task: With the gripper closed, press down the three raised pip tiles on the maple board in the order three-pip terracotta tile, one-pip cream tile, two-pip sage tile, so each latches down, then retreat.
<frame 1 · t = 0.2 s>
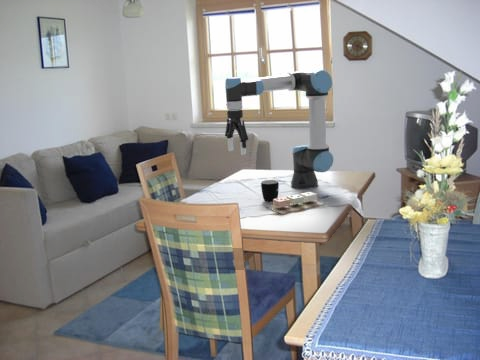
hand: (237, 152, 278), 28 cm above the table, fingers open, 13 cm apart
board: (295, 206, 279), on the table
tile 2: (295, 199, 278), point 4 cm above the table, slide at 0.0 cm
tile 3: (281, 202, 274), point 4 cm above the table, slide at 0.0 cm
tile 1: (308, 196, 281), point 4 cm above the table, slide at 0.0 cm
mug: (270, 200, 293), on the table
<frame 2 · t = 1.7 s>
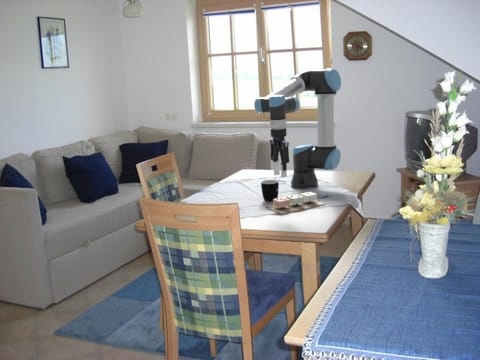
hand: (280, 175, 271), 17 cm above the table, fingers open, 6 cm apart
nothing on the table moved.
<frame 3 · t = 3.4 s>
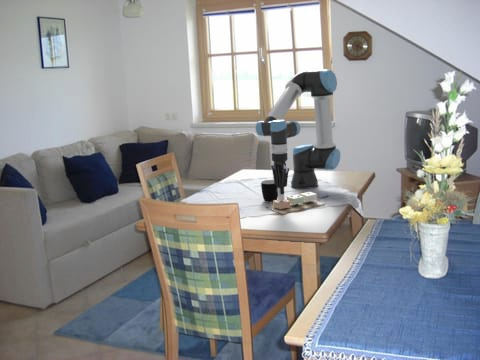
hand: (281, 200, 274), 5 cm above the table, fingers closed
tile 3: (281, 203, 274), point 3 cm above the table, slide at 0.8 cm, touching gripper
everything else where it was.
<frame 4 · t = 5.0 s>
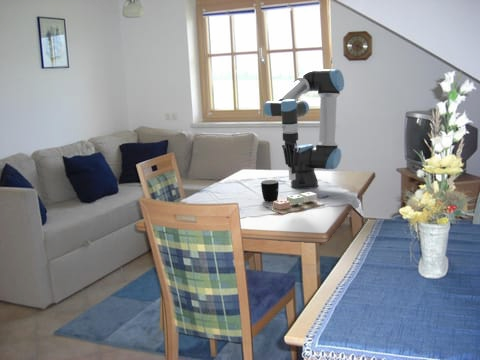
hand: (292, 179, 275), 14 cm above the table, fingers closed
tile 3: (281, 204, 274), point 2 cm above the table, slide at 1.2 cm
everything else where it was.
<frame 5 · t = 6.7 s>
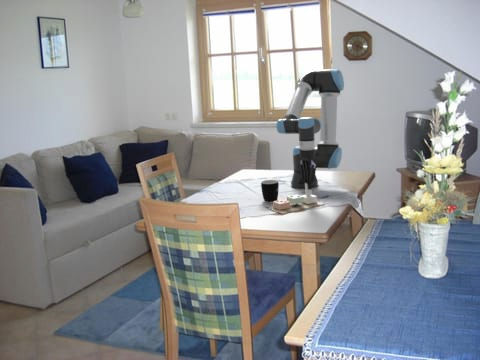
hand: (308, 195, 281), 4 cm above the table, fingers closed
tile 1: (308, 198, 282), point 2 cm above the table, slide at 1.1 cm, touching gripper
everything else where it was.
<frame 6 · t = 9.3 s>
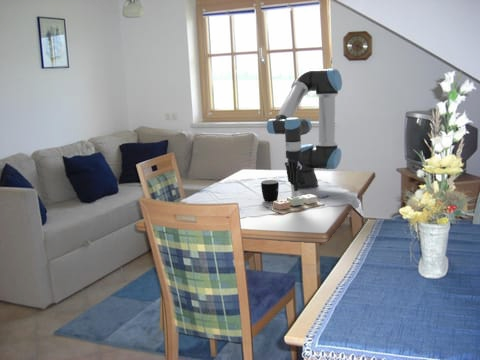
hand: (294, 196, 277), 5 cm above the table, fingers closed
tile 2: (295, 200, 278), point 3 cm above the table, slide at 0.6 cm, touching gripper
tile 1: (308, 198, 282), point 2 cm above the table, slide at 1.2 cm
everything else where it was.
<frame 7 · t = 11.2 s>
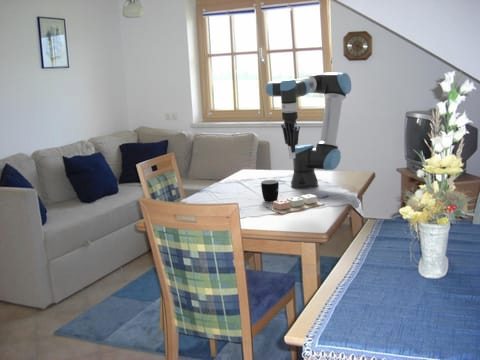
hand: (292, 158, 280), 23 cm above the table, fingers closed
tile 2: (295, 201, 278), point 2 cm above the table, slide at 1.2 cm
everything else where it was.
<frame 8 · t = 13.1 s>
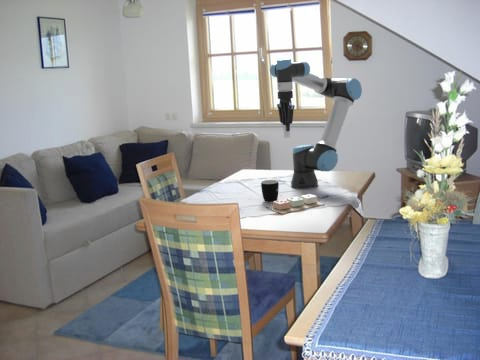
hand: (286, 137, 286), 32 cm above the table, fingers closed
nothing on the table moved.
at the end: tile 3 slide at 1.2 cm; tile 1 slide at 1.2 cm; tile 2 slide at 1.2 cm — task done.
